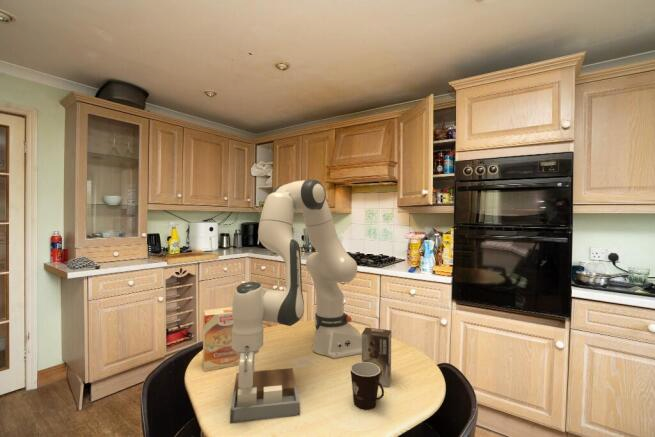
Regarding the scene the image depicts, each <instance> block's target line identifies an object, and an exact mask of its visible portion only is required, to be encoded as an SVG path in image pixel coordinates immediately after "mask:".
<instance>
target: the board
mask: <svg viewBox="0 0 655 437" xmlns="http://www.w3.org/2000/svg"><path fill="white" fill-rule="evenodd" d="M238 379H239V372H236V375H235V380H234V385H233V386H234V387H233V392H236V401H237V395H238V389H239V387H238ZM280 385H282V397H285V396H294V386H297V384H296V379H295V374H294V370H293V367H289V368H287V367H286V368H277V369H267V370H266V369H265V370H254V375H253V387H252V388H254V387H257V399H264V387H269V386H280Z"/></svg>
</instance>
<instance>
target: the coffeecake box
mask: <svg viewBox="0 0 655 437" xmlns="http://www.w3.org/2000/svg"><path fill="white" fill-rule="evenodd" d="M232 307H233V306H230V307H228V306H227V307H221V308H219V307H218V308H210V309H209V308H208V309H203V316H202V317H203V319H202V320H203V321H202V322H203V325H202V326H203V327H202V328H203V332H202V333H203V334H202V367H203V372H207V371H214V370H217V369H223V368H228V367H229V368H230V367H234V366H235V367H236V366H239V360H240V356H239V355H238V354H237V353H236V351H235V350H233V349H232V328H233V324H234V322H233V317H232Z"/></svg>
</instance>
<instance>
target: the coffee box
mask: <svg viewBox="0 0 655 437" xmlns="http://www.w3.org/2000/svg"><path fill="white" fill-rule="evenodd" d="M361 338H362V353H361V362H369V363H373V364H375V365H377V366H378V367H379V368H380V378H379V383H380V384H381V385H382V387H386V388H389V387H390V385H391V381H392V330H391V329H381V328H374V327H365V328H364V329H363V331H362V332H361Z"/></svg>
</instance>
